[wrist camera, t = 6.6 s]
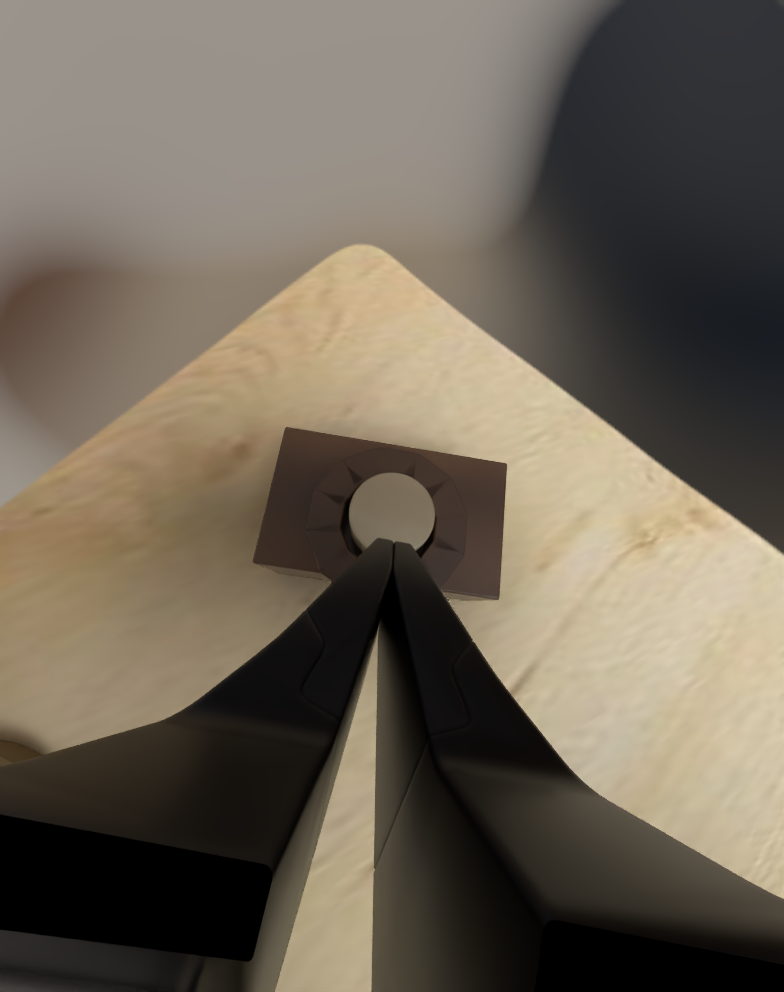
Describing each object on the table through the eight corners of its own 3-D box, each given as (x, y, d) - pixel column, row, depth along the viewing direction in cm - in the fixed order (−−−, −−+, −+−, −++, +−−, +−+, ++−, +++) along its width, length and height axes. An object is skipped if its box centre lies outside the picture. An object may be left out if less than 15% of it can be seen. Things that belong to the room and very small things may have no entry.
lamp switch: (421, 567, 14) (430, 562, 12) (343, 556, 14) (341, 549, 12) (429, 494, 14) (439, 478, 13) (356, 482, 14) (356, 465, 13)
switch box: (465, 618, 20) (521, 625, 13) (272, 589, 19) (227, 581, 13) (475, 493, 22) (529, 443, 15) (300, 464, 21) (274, 400, 14)
